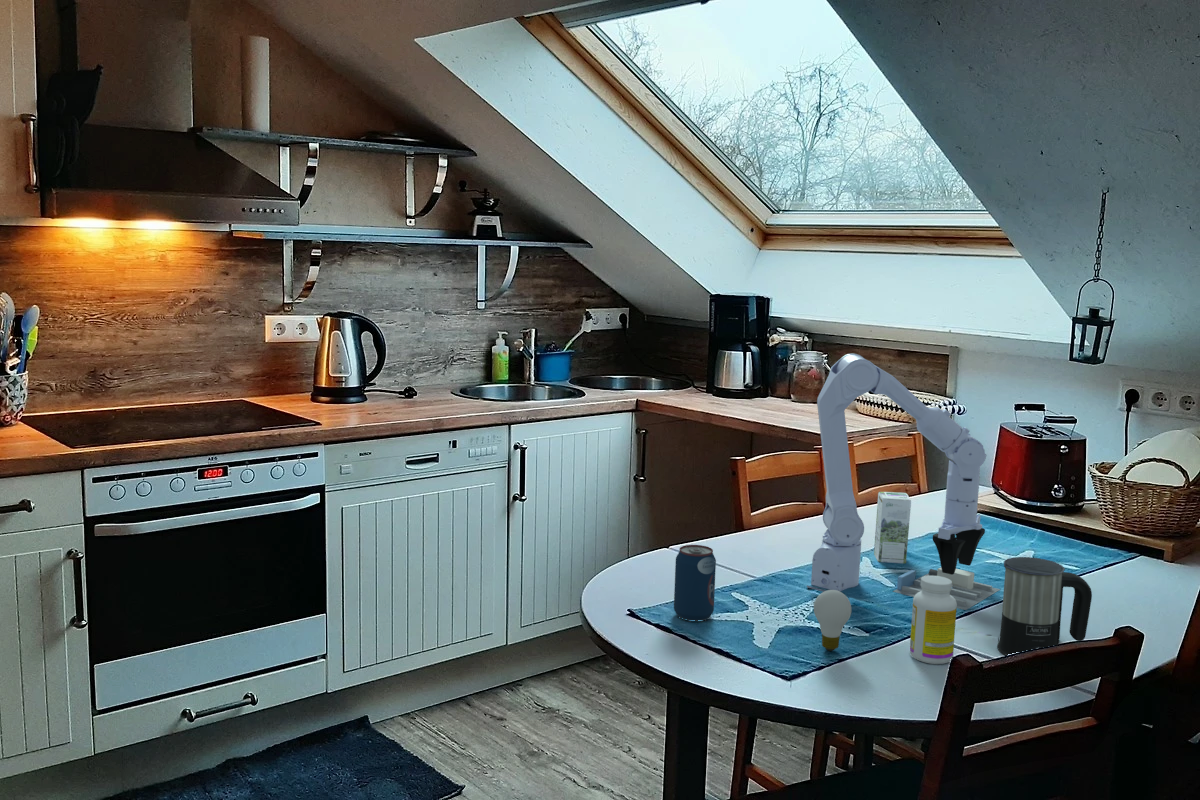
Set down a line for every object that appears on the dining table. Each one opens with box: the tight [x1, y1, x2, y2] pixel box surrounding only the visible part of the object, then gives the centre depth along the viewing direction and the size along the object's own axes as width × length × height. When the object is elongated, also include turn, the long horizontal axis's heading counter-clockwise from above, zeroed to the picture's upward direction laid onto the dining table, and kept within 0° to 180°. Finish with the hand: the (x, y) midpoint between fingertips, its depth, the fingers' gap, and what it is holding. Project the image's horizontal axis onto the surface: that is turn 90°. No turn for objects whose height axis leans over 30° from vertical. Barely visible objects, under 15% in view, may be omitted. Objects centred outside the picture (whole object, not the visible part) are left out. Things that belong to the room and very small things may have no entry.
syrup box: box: [873, 491, 912, 564], centre depth 220 cm, size 6×6×14 cm
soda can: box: [673, 544, 717, 621], centre depth 187 cm, size 7×7×12 cm
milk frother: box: [996, 556, 1093, 656], centre depth 178 cm, size 14×16×15 cm
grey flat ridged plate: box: [892, 569, 1001, 611], centre depth 202 cm, size 16×14×4 cm
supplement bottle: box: [909, 575, 958, 665], centre depth 171 cm, size 7×7×13 cm
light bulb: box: [813, 589, 852, 652], centre depth 173 cm, size 6×6×10 cm
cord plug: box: [928, 566, 975, 589], centre depth 205 cm, size 3×8×3 cm, turn 49°
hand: (956, 568), depth 204 cm, fingers open, 7 cm apart
